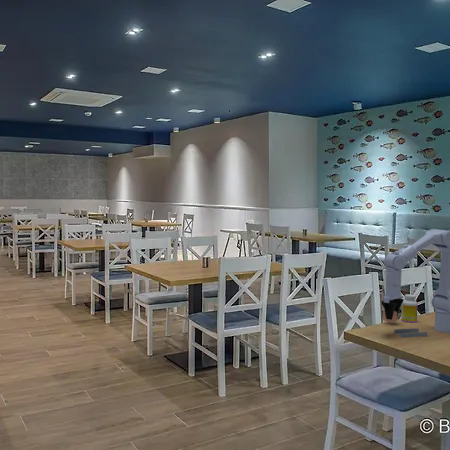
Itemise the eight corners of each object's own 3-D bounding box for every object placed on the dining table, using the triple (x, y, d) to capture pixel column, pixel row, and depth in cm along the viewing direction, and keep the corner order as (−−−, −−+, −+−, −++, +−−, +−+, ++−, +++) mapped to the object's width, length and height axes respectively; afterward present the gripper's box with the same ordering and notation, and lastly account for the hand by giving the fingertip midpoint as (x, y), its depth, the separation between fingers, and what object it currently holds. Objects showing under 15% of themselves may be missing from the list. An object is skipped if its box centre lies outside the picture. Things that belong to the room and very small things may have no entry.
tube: (417, 334, 210) (417, 328, 210) (427, 338, 204) (427, 332, 204) (393, 335, 207) (394, 329, 207) (402, 340, 201) (403, 333, 201)
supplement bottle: (417, 325, 224) (419, 297, 223) (402, 324, 225) (403, 296, 224) (415, 322, 231) (416, 294, 230) (400, 321, 232) (401, 293, 231)
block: (392, 309, 206) (382, 309, 205) (397, 312, 202) (387, 312, 201) (391, 319, 206) (382, 319, 205) (396, 321, 202) (387, 322, 201)
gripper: (396, 288, 194) (395, 322, 195) (409, 283, 205) (407, 316, 206) (379, 285, 198) (377, 319, 199) (392, 281, 210) (390, 313, 211)
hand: (391, 317), depth 203 cm, fingers closed on block, 6 cm apart
